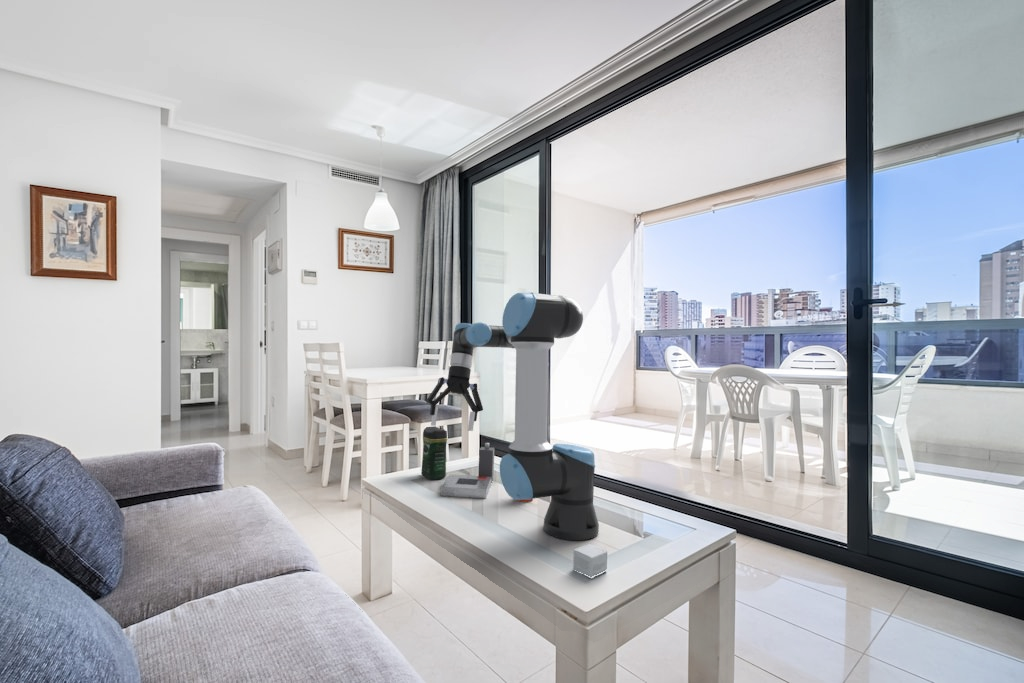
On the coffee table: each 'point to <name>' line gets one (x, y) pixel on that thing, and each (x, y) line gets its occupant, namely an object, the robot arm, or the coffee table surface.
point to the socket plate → (466, 486)
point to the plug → (486, 461)
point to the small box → (589, 560)
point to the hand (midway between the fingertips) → (452, 428)
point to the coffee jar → (434, 453)
